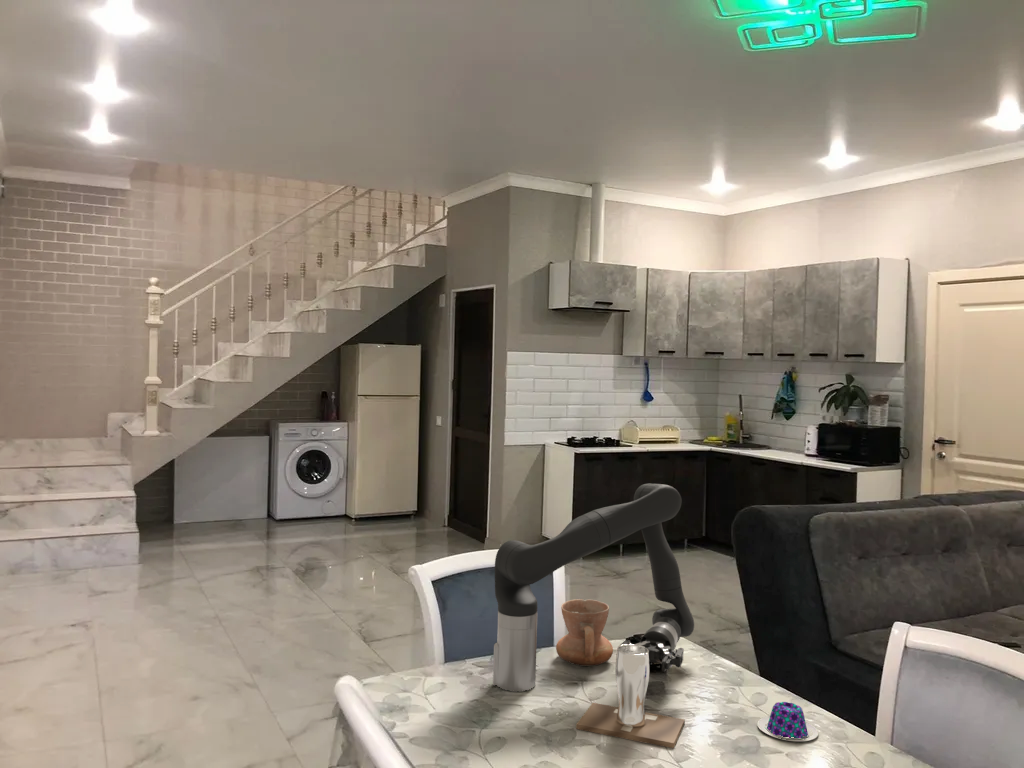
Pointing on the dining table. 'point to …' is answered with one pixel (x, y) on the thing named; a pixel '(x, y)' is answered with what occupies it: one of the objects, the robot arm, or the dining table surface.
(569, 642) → the ceramic jug
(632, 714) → the beer glass
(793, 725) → the pudding
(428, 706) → the dining table surface
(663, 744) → the board
